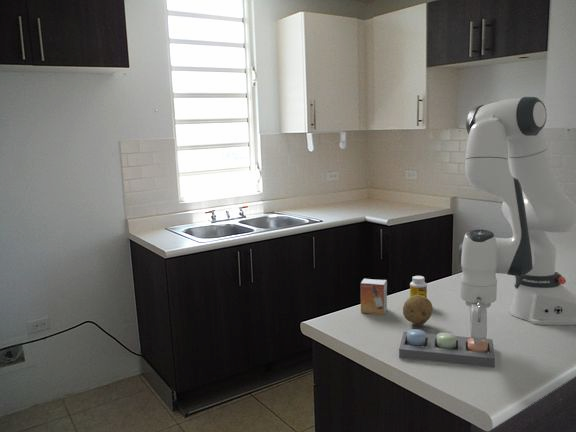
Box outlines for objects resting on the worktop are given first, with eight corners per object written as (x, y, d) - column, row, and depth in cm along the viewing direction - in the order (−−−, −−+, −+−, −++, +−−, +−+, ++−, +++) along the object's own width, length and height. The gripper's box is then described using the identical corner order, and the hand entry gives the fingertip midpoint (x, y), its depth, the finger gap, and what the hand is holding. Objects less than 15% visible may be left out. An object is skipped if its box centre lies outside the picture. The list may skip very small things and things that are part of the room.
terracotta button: (487, 349, 137) (487, 338, 136) (488, 357, 132) (488, 346, 132) (467, 347, 138) (467, 337, 138) (467, 355, 134) (467, 344, 133)
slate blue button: (426, 340, 142) (426, 330, 141) (424, 347, 137) (424, 337, 137) (407, 338, 143) (407, 328, 143) (406, 345, 139) (406, 335, 138)
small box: (360, 312, 170) (359, 282, 168) (364, 307, 175) (363, 278, 173) (384, 315, 167) (384, 284, 165) (387, 309, 172) (387, 279, 170)
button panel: (492, 347, 140) (492, 339, 139) (494, 367, 129) (495, 358, 128) (403, 339, 147) (403, 331, 147) (399, 357, 136) (399, 349, 136)
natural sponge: (427, 333, 151) (428, 302, 149) (398, 329, 155) (398, 298, 153) (435, 323, 158) (435, 292, 157) (407, 318, 163) (407, 289, 161)
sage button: (456, 343, 139) (456, 333, 139) (455, 351, 135) (456, 340, 134) (437, 342, 141) (437, 331, 140) (436, 349, 136) (436, 339, 136)
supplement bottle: (418, 310, 170) (418, 280, 168) (406, 305, 175) (406, 277, 173) (430, 306, 173) (430, 277, 171) (417, 301, 178) (417, 273, 176)
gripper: (493, 306, 122) (491, 360, 124) (489, 281, 141) (487, 328, 143) (465, 304, 124) (464, 357, 126) (465, 280, 143) (464, 326, 145)
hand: (477, 341), depth 135 cm, fingers closed, pressing on terracotta button
